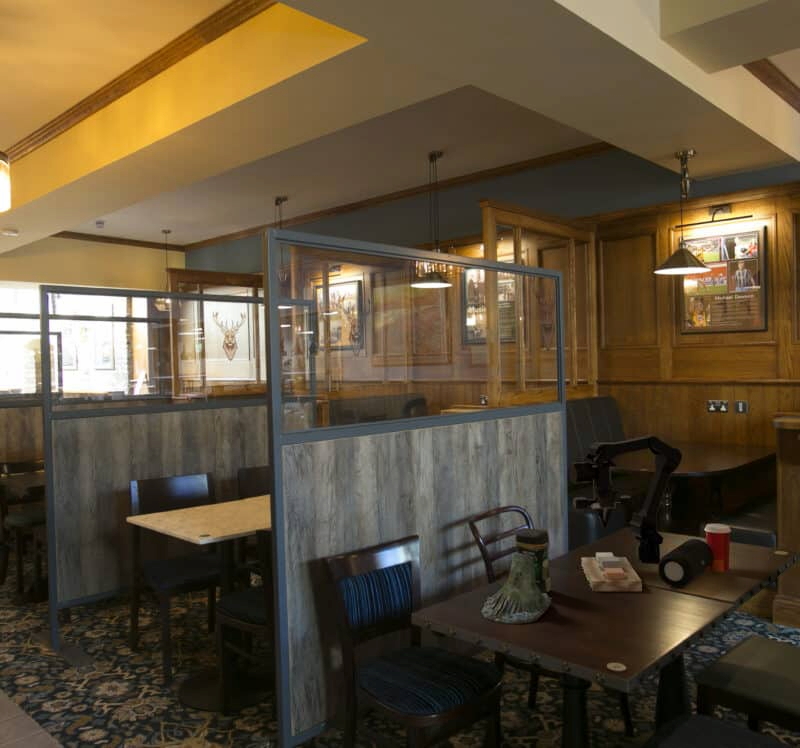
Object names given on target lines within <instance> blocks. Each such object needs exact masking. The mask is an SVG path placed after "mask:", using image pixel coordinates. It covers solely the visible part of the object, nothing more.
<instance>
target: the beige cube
mask: <svg viewBox="0 0 800 748" xmlns="http://www.w3.org/2000/svg"><path fill="white" fill-rule="evenodd" d="M595 557H596V562H597V563H600V557H615V556H614V554H613V552H595Z"/></svg>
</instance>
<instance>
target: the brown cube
mask: <svg viewBox="0 0 800 748" xmlns="http://www.w3.org/2000/svg"><path fill="white" fill-rule="evenodd" d="M604 572H605V580H625V574H624V571H623V570H622V568H604Z"/></svg>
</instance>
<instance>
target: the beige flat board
mask: <svg viewBox="0 0 800 748" xmlns="http://www.w3.org/2000/svg"><path fill="white" fill-rule="evenodd" d="M616 557H617V559H618V560H619V568H622V570H623V571H624V574H625V580H605V572H604V571H601V570H600V563H597V562H596V556H595V557H594V556H591V557H590V556H589V557H584V556H583V557H581V568H582V567H583V568H582V570H583V569H584V570H583V572H584V574H586V575H585V577H586V579H587V581H589V582H588V584H589V583H590V584H589V586H590V588H592V589H591V590H592V592H643V584H642V583H643V582H642V579H641V578H640V577H639V575H638V574H637V572H636V570H635V569H634V568H633V566H632V565H631V563H630V562H629V561H628V559H627V557H626V556H625V557H624V556H619V557H618V556H616Z"/></svg>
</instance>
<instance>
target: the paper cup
mask: <svg viewBox="0 0 800 748" xmlns="http://www.w3.org/2000/svg"><path fill="white" fill-rule="evenodd" d="M704 532H705V540H706V543H707V544H708V545H709V546H710V548H711V550H712V552H713V562H712V564H711V566H710V567H708V570H709V571H710V570H711V571H710V572H712V571H714V572H713V573H718V572H725V573H728V572H729V571H728V570H730V545H731V543H730V542H731V541H730V540H731V538H730V537H731V532H732V529H731V528H730V526H729V525H727V524H723V523H721V524H720V523H707V524H706V525H705V528H704ZM727 571H728V572H727Z"/></svg>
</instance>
